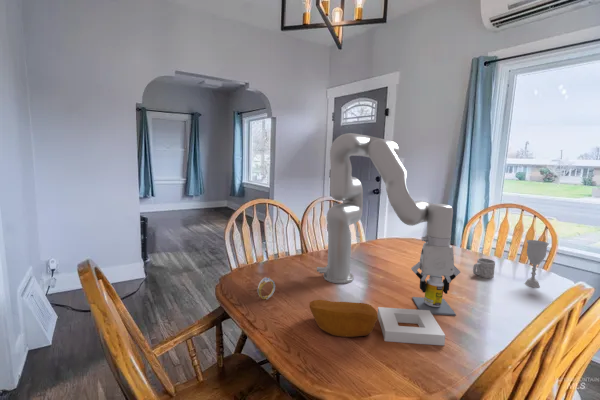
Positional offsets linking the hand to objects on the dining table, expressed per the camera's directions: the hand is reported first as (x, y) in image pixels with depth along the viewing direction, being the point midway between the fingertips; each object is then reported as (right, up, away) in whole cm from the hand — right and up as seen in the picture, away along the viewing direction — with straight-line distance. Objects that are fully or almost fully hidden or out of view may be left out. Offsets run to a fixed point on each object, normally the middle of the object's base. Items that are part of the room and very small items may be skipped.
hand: (433, 291), depth 107 cm
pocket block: (-14, -7, -14) cm, 21 cm away
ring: (-58, -4, +5) cm, 58 cm away
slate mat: (0, -6, +1) cm, 6 cm away
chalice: (+49, -4, +21) cm, 54 cm away
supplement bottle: (0, -5, +1) cm, 5 cm away
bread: (-33, -7, -13) cm, 37 cm away
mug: (+34, -2, +30) cm, 46 cm away
